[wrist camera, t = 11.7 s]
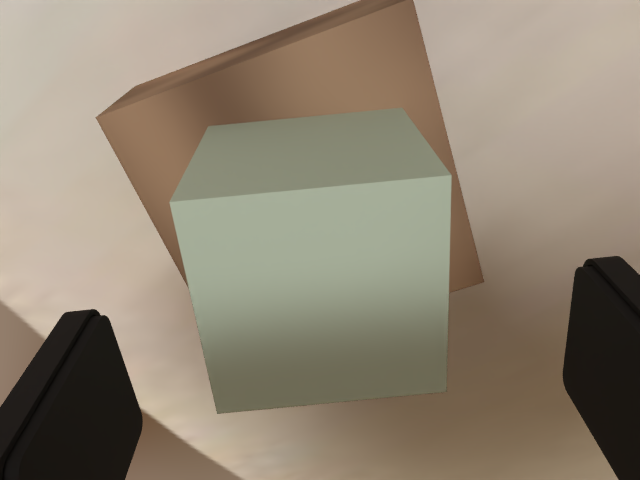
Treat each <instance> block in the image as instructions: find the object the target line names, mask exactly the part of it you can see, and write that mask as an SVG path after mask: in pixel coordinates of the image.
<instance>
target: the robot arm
mask: <svg viewBox="0 0 640 480" xmlns="http://www.w3.org/2000/svg"><path fill="white" fill-rule="evenodd" d="M563 382H564V386H565V389H566V391H567V393H568V395H569V396H570V398H571V400H572V401H573V403H574V405H575V406H576V408H577V410H578V412H579V413H580V415H581V417H582V418H583V420H584V422H585V423H586V425H587V427H588V428H589V430H590V432H591V434H592V435H593V437H594V439H595V440H596V442H597V444H598V445H599V447H600V449H601V450H602V452H603V454H604V456H605V457H606V459H607V461H608V462H609V464H610V466H611V467H612V469H613V471H614V473H615V474H616V476H617V478H618V479H619V480H640V275H639V274H638V273H637V272H636V271H635V270H634V269H633V268H632V267H631V266H630V265H629V264H628V263H627V262H626V261H625V260H624V259H622V258H621V257H619V256H612V257H603V258H593V259H588V260H586V261H585V263H584V265H583V267H578V268H577V269H576V271H575V276H574V284H573V292H572V301H571V309H570V317H569V325H568V334H567V342H566V350H565V358H564V366H563ZM141 431H142V414H141V410H140V407H139V404H138V402H137V399H136V396H135V393H134V390H133V387H132V384H131V381H130V378H129V375H128V372H127V369H126V367H125V364H124V361H123V358H122V355H121V352H120V349H119V346H118V343H117V340H116V337H115V335H114V332H113V329H112V326H111V323H110V320H109V318H108V317H107V316H105V315H103V316H101V315H100V313H99V312H98V311H97V310H95V309H91V310H82V311H72V312H66V313H64V314H63V315H62V317H61V318H60V320H59V321H58V322H57V324H56V325H55V327H54V328H53V330H52V331H51V333H50V334H49V336H48V337H47V339H46V340H45V342H44V343H43V345H42V346H41V348H40V349H39V351H38V352H37V354H36V355H35V357H34V358H33V360H32V361H31V363H30V364H29V365H28V367H27V368H26V370H25V372H24V373H23V375H22V376H21V377H20V379H19V381H18V382H17V383H16V385H15V386H14V388H13V389H12V391H11V392H10V394H9V395H8V397H7V398H6V400H5V401H4V403H3V404H2V406H1V407H0V480H125V478H126V475H127V472H128V469H129V466H130V463H131V460H132V457H133V454H134V451H135V449H136V446H137V443H138V440H139V437H140V434H141Z"/></svg>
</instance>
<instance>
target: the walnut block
mask: <svg viewBox="0 0 640 480" xmlns="http://www.w3.org/2000/svg"><path fill="white" fill-rule="evenodd" d="M394 108H403V109H404V111H405V112H406V113H407V115H408V116H409V118H410V119H411V120H412V122H413V123H414V124H415V126H416V127H417V129H418V130H419V131H420V133H421V134H422V135H423V137H424V138H425V139H426V141H427V142H428V144H429V145H430V146H431V148H432V149H433V150H434V152H435V153H436V155H437V156H438V157H439V159H440V160H441V161H442V163H443V164H444V165H445V167H446V168H447V170H448V171H449V172H450V174H451V175H452V178H451V221H450V265H449V293H450V292H453V291H457V290H460V289H463V288H466V287H469V286H473V285H476V284H479V283H482V282H484V279H483V275H482V271H481V267H480V263H479V259H478V255H477V251H476V247H475V243H474V239H473V236H472V232H471V228H470V224H469V220H468V216H467V212H466V208H465V204H464V200H463V196H462V192H461V188H460V184H459V180H458V176H457V172H456V168H455V164H454V160H453V156H452V152H451V148H450V144H449V140H448V136H447V132H446V129H445V125H444V121H443V117H442V113H441V109H440V105H439V101H438V97H437V93H436V89H435V85H434V81H433V77H432V73H431V69H430V65H429V61H428V57H427V53H426V49H425V45H424V41H423V37H422V33H421V29H420V26H419V22H418V18H417V14H416V10H415V6H414V2H413V0H360V1H357V2H355V3H352V4H349V5H347V6H344V7H342V8H339V9H336V10H334V11H331V12H328V13H326V14H323V15H321V16H318V17H315V18H313V19H310V20H308V21H305V22H302V23H300V24H297V25H294V26H292V27H289V28H287V29H284V30H281V31H279V32H276V33H274V34H271V35H268V36H266V37H263V38H260V39H258V40H255V41H253V42H250V43H247V44H245V45H242V46H239V47H237V48H234V49H232V50H229V51H226V52H224V53H221V54H219V55H216V56H213V57H211V58H208V59H205V60H203V61H200V62H198V63H195V64H192V65H190V66H187V67H185V68H182V69H179V70H177V71H174V72H171V73H169V74H166V75H164V76H161V77H158V78H156V79H153V80H150V81H148V82H145V83H143V84H140V85H137V86H135V87H134V88H132V89H131V90H130V91H129V92H127V93H126V94H125V95H124V96H122V97H121V98H120V99H119V100H117V101H116V102H115V103H113V104H112V105H111V106H110V107H108V108H107V109H106V110H105V111H103V112H102V113H101V114H100V115H98V116H97V117H96V119H97V121H98V123H99V124H100V126H101V128H102V130H103V132H104V134H105V135H106V137H107V139H108V141H109V143H110V145H111V146H112V148H113V150H114V152H115V154H116V156H117V157H118V159H119V161H120V163H121V165H122V167H123V169H124V170H125V172H126V174H127V176H128V178H129V180H130V181H131V183H132V185H133V187H134V189H135V191H136V192H137V194H138V196H139V198H140V200H141V202H142V203H143V205H144V207H145V209H146V211H147V213H148V214H149V216H150V218H151V220H152V222H153V224H154V225H155V227H156V229H157V231H158V233H159V235H160V236H161V238H162V240H163V242H164V244H165V246H166V248H167V249H168V251H169V253H170V255H171V257H172V259H173V260H174V262H175V264H176V266H177V268H178V270H179V271H180V273H181V275H182V277H183V279H184V281H185V282H186V284H187V286H188V282H187V278H186V274H185V269H184V265H183V260H182V256H181V251H180V247H179V243H178V238H177V234H176V229H175V225H174V221H173V216H172V212H171V207H170V203H169V202H170V200H171V198H172V196H173V194H174V192H175V190H176V188H177V186H178V184H179V182H180V180H181V178H182V176H183V175H184V173H185V171H186V169H187V167H188V165H189V163H190V161H191V159H192V157H193V155H194V153H195V151H196V149H197V147H198V145H199V143H200V141H201V139H202V137H203V136H204V134H205V132H206V130H207V128H208V126H216V125H227V124H237V123H247V122H258V121H268V120H279V119H289V118H300V117H310V116H321V115H331V114H341V113H352V112H362V111H373V110H383V109H394ZM188 288H189V287H188Z"/></svg>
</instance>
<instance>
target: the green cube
mask: <svg viewBox="0 0 640 480" xmlns="http://www.w3.org/2000/svg"><path fill="white" fill-rule="evenodd" d="M451 178H452V175H451V174H450V172H449V171H448V170H447V168H446V167H445V165H444V164H443V163H442V161H441V160H440V159H439V157H438V156H437V155H436V153H435V152H434V150H433V149H432V148H431V146H430V145H429V144H428V142H427V141H426V139H425V138H424V137H423V135H422V134H421V133H420V131H419V130H418V129H417V127H416V126H415V124H414V123H413V122H412V120H411V119H410V118H409V116H408V115H407V113H406V112H405V111H404V109H403V108H394V109H383V110H373V111H362V112H352V113H341V114H331V115H321V116H310V117H300V118H289V119H279V120H268V121H258V122H247V123H237V124H227V125H216V126H208V128H207V130H206V132H205V134H204V136H203V137H202V139H201V141H200V143H199V145H198V147H197V149H196V151H195V153H194V155H193V157H192V159H191V161H190V163H189V165H188V167H187V169H186V171H185V173H184V175H183V176H182V178H181V180H180V182H179V184H178V186H177V188H176V190H175V192H174V194H173V196H172V198H171V200H170V202H169V203H170V207H171V212H172V216H173V221H174V225H175V229H176V234H177V238H178V243H179V247H180V251H181V256H182V260H183V265H184V269H185V274H186V278H187V282H188V287H189V291H190V296H191V300H192V305H193V309H194V313H195V318H196V322H197V327H198V331H199V335H200V340H201V344H202V349H203V353H204V358H205V362H206V366H207V371H208V375H209V380H210V384H211V389H212V393H213V397H214V402H215V406H216V411H217V414H220V413H230V412H241V411H251V410H262V409H273V408H283V407H294V406H304V405H315V404H325V403H336V402H346V401H357V400H367V399H378V398H388V397H399V396H409V395H420V394H430V393H441V392H447V352H448V308H449V265H450V221H451Z"/></svg>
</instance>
